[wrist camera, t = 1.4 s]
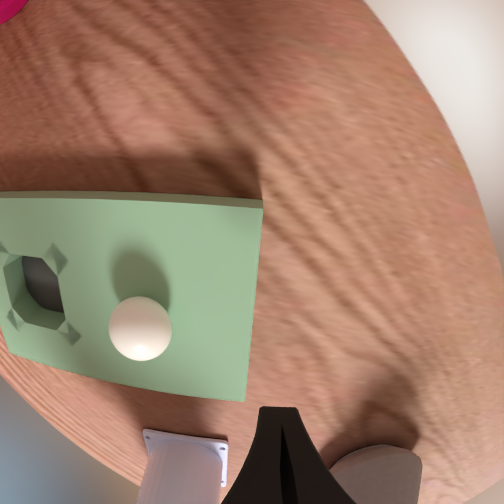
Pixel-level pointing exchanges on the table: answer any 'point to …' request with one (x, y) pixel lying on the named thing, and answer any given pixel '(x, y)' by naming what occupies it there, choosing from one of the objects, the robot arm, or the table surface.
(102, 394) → the table surface
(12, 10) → the pepper mill
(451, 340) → the table surface
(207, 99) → the table surface
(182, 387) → the plate
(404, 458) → the coffee pot
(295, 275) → the table surface
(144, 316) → the ball
